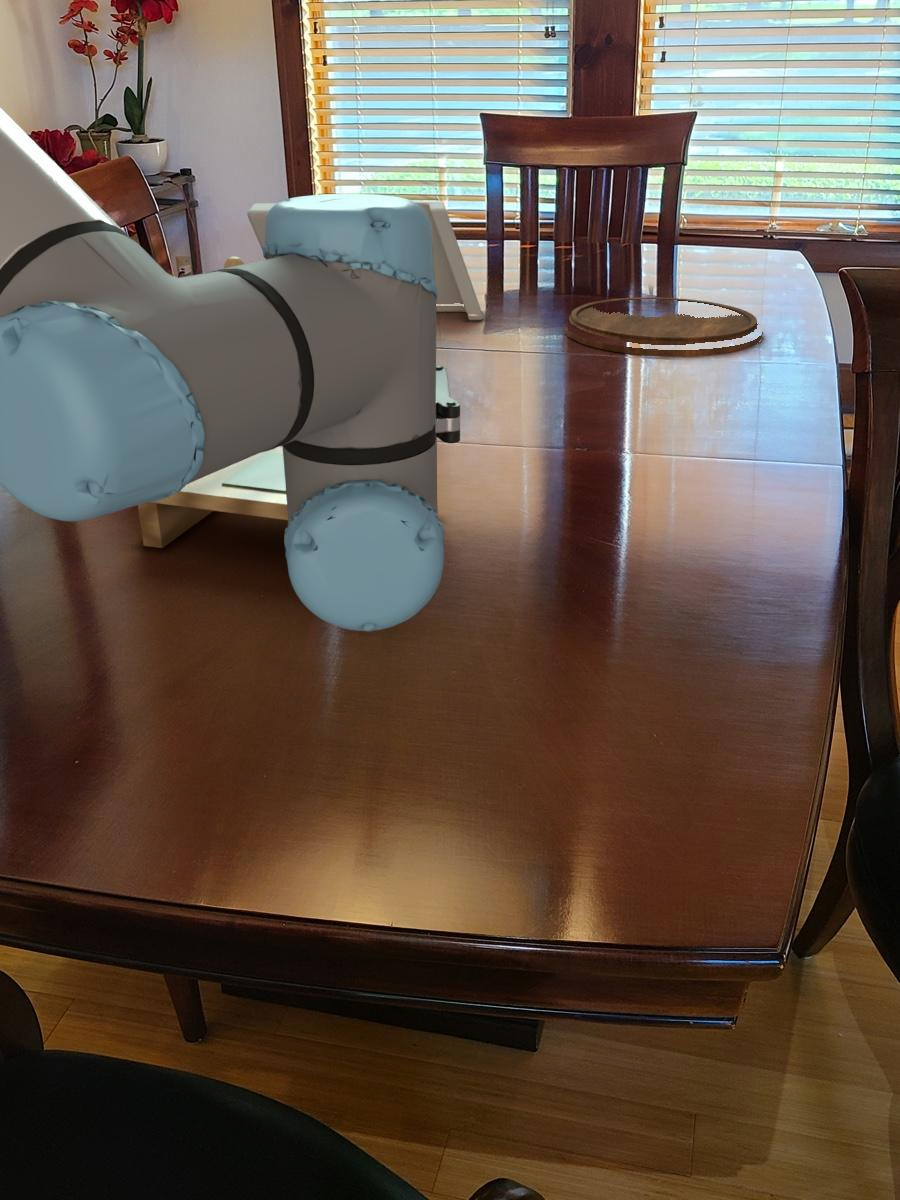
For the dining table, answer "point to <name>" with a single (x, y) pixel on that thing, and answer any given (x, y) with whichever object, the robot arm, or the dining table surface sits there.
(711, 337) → the cutting board
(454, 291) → the bracket
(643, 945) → the dining table surface
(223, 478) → the oak shelf
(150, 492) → the robot arm
